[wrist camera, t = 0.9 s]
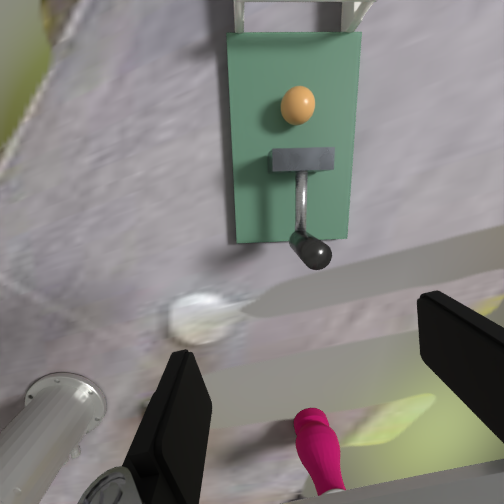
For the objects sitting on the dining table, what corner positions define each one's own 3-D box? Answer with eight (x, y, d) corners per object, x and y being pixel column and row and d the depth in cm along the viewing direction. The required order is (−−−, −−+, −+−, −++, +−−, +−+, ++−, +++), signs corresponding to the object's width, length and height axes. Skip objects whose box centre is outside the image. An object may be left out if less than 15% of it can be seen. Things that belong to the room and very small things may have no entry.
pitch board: (342, 236, 37) (347, 238, 36) (236, 241, 36) (236, 243, 35) (356, 39, 30) (361, 31, 29) (226, 39, 30) (226, 32, 28)
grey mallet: (317, 243, 35) (351, 268, 24) (268, 245, 35) (282, 271, 24) (321, 152, 32) (362, 135, 21) (267, 153, 32) (282, 137, 21)
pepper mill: (285, 431, 46) (318, 606, 27) (298, 401, 45) (344, 564, 25) (320, 438, 47) (376, 612, 28) (334, 409, 46) (405, 573, 26)
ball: (309, 128, 31) (319, 120, 28) (278, 129, 31) (283, 121, 27) (310, 93, 30) (320, 79, 27) (278, 93, 30) (283, 79, 26)
